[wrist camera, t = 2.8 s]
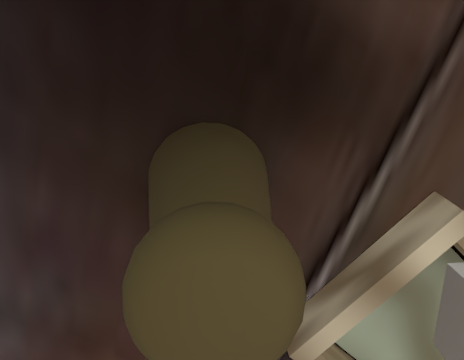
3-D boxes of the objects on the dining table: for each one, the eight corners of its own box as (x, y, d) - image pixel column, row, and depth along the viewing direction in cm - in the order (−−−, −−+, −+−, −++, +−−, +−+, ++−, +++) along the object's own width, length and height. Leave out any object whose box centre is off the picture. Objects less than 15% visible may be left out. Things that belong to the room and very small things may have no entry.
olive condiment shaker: (179, 251, 22) (161, 451, 11) (125, 152, 19) (42, 285, 9) (284, 207, 21) (365, 374, 11) (240, 101, 19) (289, 182, 9)
